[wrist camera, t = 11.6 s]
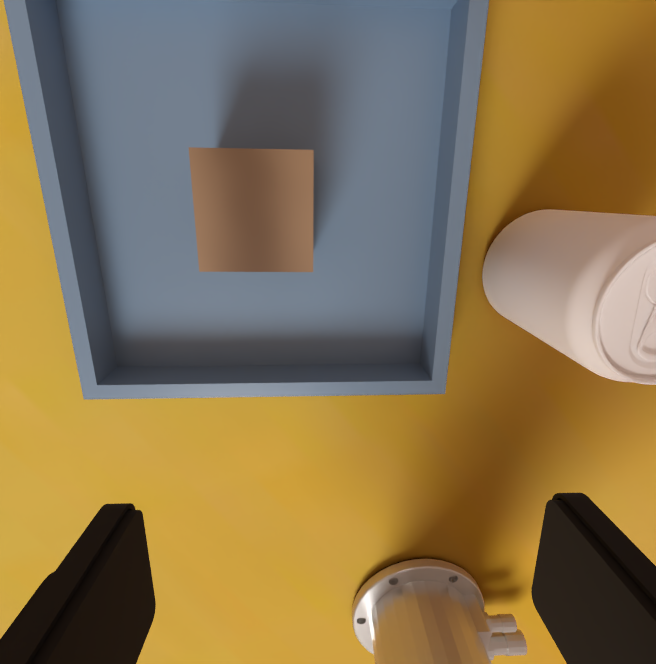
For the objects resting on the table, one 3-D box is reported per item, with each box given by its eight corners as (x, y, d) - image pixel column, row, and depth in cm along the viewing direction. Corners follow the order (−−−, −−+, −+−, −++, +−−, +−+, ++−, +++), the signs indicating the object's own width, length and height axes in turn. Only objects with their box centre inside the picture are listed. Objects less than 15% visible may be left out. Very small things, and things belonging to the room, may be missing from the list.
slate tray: (464, -4, 24) (493, -41, 20) (428, 370, 32) (444, 393, 28) (43, -19, 23) (-9, -61, 19) (111, 373, 31) (83, 399, 27)
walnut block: (311, 159, 26) (313, 149, 20) (311, 256, 28) (313, 272, 22) (214, 157, 25) (188, 147, 20) (221, 255, 27) (199, 271, 22)
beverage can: (602, 212, 29) (796, 225, 17) (572, 323, 31) (725, 397, 20) (489, 205, 28) (614, 213, 17) (469, 318, 31) (565, 391, 19)
